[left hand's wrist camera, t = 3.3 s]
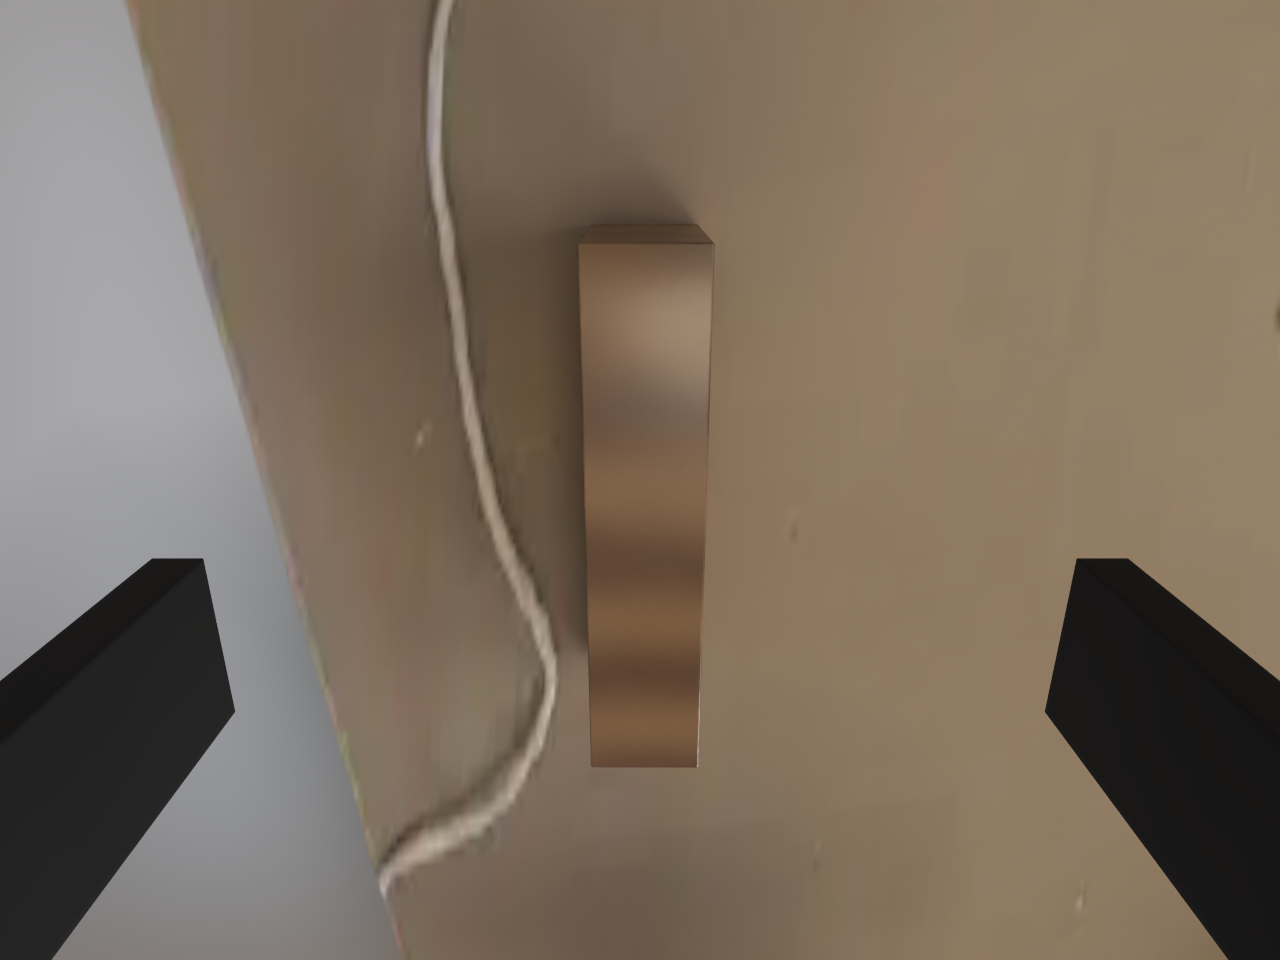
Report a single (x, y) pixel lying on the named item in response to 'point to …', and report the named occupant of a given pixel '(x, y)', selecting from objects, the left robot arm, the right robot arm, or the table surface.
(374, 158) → the table surface
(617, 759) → the brown wooden block
